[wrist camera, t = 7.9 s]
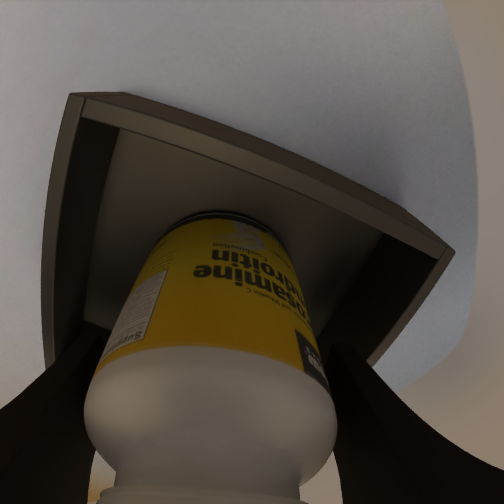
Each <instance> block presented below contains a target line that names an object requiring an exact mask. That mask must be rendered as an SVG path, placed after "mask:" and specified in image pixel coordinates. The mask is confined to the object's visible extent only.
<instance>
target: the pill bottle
mask: <svg viewBox="0 0 504 504" xmlns="http://www.w3.org/2000/svg"><path fill="white" fill-rule="evenodd" d="M84 422H85V427H86V431H87V433H88V436H89V438H90V440H91V442H92V444H93V446H94V447H95V449H96V450H97V451H98V453H99V454H100V455H101V456H102V458H103V459H104V460H105V461H106V462H107V463H108V464H109V465H110V466H111V467H112V468H113V469H114V470H115V471H116V477H115V482H114V487H111V488H107V489H104V490H103V491H102V492H101V493H100V498H101V499H99V500H98V501H97V503H96V504H308V503H306V502H304V501H300V493H299V487H300V486H301V485H303V484H304V483H306V482H307V481H309V480H310V479H311V478H312V477H313V476H315V475H316V474H317V473H318V471H319V470H320V469H321V468H322V467H323V465H324V464H325V463H326V461H327V460H328V458H329V456H330V455H331V453H332V451H333V448H334V445H335V443H336V438H337V417H336V412H335V405H334V402H333V398H332V395H331V391H330V388H329V384H328V381H327V377H326V375H325V372H324V368H323V364H322V361H321V357H320V354H319V350H318V347H317V343H316V340H315V337H314V333H313V330H312V326H311V323H310V319H309V316H308V312H307V309H306V305H305V302H304V299H303V295H302V292H301V289H300V286H299V283H298V279H297V276H296V272H295V269H294V266H293V263H292V260H291V258H290V256H289V254H288V252H287V250H286V249H285V247H284V246H283V244H282V243H281V242H280V241H279V239H278V238H277V237H276V236H275V235H274V234H273V233H272V232H271V231H269V230H268V229H267V228H265V227H264V226H262V225H261V224H259V223H257V222H255V221H253V220H251V219H248V218H245V217H243V216H239V215H234V214H228V213H207V214H201V215H197V216H194V217H191V218H188V219H186V220H184V221H181V222H180V223H178V224H176V225H175V226H173V227H172V228H170V229H169V230H168V231H167V232H166V233H165V234H164V235H162V236H161V238H160V239H159V240H158V241H157V243H156V244H155V246H154V247H153V249H152V250H151V252H150V254H149V256H148V258H147V260H146V262H145V264H144V266H143V268H142V270H141V272H140V274H139V276H138V278H137V280H136V282H135V284H134V286H133V288H132V290H131V292H130V294H129V296H128V298H127V300H126V302H125V304H124V306H123V309H122V311H121V313H120V315H119V317H118V319H117V322H116V324H115V326H114V328H113V331H112V333H111V335H110V338H109V340H108V342H107V344H106V347H105V349H104V352H103V354H102V356H101V358H100V361H99V363H98V365H97V368H96V371H95V373H94V376H93V378H92V381H91V383H90V386H89V389H88V392H87V395H86V399H85V404H84Z"/></svg>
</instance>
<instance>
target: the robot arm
mask: <svg viewBox="0 0 504 504" xmlns="http://www.w3.org/2000/svg"><path fill="white" fill-rule="evenodd" d="M104 349H105V345H104V342H103V339H102V335H101V334H93V333H86V332H85V333H84V334H83V335H81V336H80V337H79V338H78V339H77V340H76V341H75V342H74V343H73V344H72V345H71V346H70V347H69V348H68V349H67V350H66V351H65V352H64V353H63V354H62V355H61V356H60V357H59V358H58V359H57V360H56V361H55V362H54V363H53V364H52V365H51V366H50V367H49V368H48V369H47V370H45V371H44V372H43V373H42V374H41V375H40V376H39V377H38V378H37V379H36V380H35V381H34V382H32V383H31V384H30V385H29V386H28V387H27V388H26V389H25V390H24V391H23V392H21V393H20V394H19V395H18V396H17V397H16V398H14V399H13V400H12V401H11V402H9V403H8V404H7V405H5V406H4V407H3V408H2V409H0V504H87V500H88V489H89V481H90V473H91V467H92V462H93V458H94V454H95V451H96V449H95V447H94V446H93V444H92V442H91V440H90V438H89V436H88V433H87V431H86V427H85V422H84V404H85V399H86V395H87V392H88V389H89V386H90V383H91V381H92V378H93V376H94V373H95V371H96V368H97V365H98V363H99V361H100V358H101V356H102V354H103V352H104ZM324 372H325V375H326V377H327V381H328V384H329V388H330V391H331V395H332V398H333V402H334V405H335V412H336V417H337V438H336V443H335V445H334V448H333V452H334V456H335V459H336V463H337V467H338V472H339V476H340V483H341V491H342V498H343V504H504V470H501V469H499V468H497V467H494V466H492V465H490V464H488V463H486V462H484V461H482V460H480V459H478V458H476V457H474V456H473V455H471V454H469V453H468V452H466V451H464V450H463V449H461V448H459V447H458V446H457V445H455V444H454V443H452V442H450V441H449V440H448V439H446V438H445V437H443V436H442V435H441V434H439V433H438V432H437V431H436V430H434V429H433V428H432V427H431V426H429V425H428V424H427V423H426V422H425V421H423V420H422V419H421V418H420V417H419V416H418V415H417V414H415V413H414V412H413V411H412V410H411V409H410V408H409V407H408V406H407V405H406V404H405V403H404V402H403V401H402V400H401V399H400V398H399V397H398V396H397V395H396V394H395V393H394V392H393V391H392V390H391V388H390V387H389V386H388V385H387V384H386V383H385V382H384V381H383V380H382V379H381V378H380V376H379V375H378V374H377V373H376V372H375V371H374V370H373V368H372V367H371V366H370V365H369V364H368V363H367V361H366V360H365V359H364V358H363V357H362V356H361V354H360V353H359V352H358V351H357V350H356V349H355V348H354V346H353V345H352V344H351V343H350V342H346V343H332V345H331V348H330V351H329V354H328V358H327V361H326V364H325V367H324Z"/></svg>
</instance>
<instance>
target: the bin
mask: <svg viewBox="0 0 504 504" xmlns="http://www.w3.org/2000/svg"><path fill="white" fill-rule="evenodd" d="M207 213H228V214H234V215H239V216H243V217H245V218H248V219H251V220H253V221H255V222H257V223H259V224H261V225H262V226H264V227H265V228H267V229H268V230H269V231H271V232H272V233H273V234H274V235H275V236H276V237H277V238H278V239H279V241H280V242H281V243H282V244H283V246H284V247H285V249H286V250H287V252H288V254H289V256H290V258H291V260H292V263H293V266H294V269H295V272H296V276H297V279H298V283H299V286H300V289H301V292H302V295H303V299H304V302H305V305H306V309H307V312H308V316H309V319H310V323H311V326H312V330H313V333H314V337H315V340H316V343H317V347H318V350H319V354H320V357H321V361H322V364H323V368H324V367H325V364H326V361H327V358H328V354H329V351H330V348H331V345H332V343H346V342H350V343H351V344H352V345H353V346H354V348H355V349H356V350H357V351H358V352H359V353H360V354H361V356H362V357H363V358H364V359H365V360H366V361H367V363H368V364H369V365H370V366H371V367H373V366H374V365H375V363H376V362H377V361H378V360H379V359H380V357H381V356H382V355H383V354H384V353H385V351H386V350H387V349H388V348H389V347H390V345H391V344H392V343H393V342H394V340H395V339H396V338H397V337H398V335H399V334H400V333H401V331H402V330H403V329H404V328H405V326H406V325H407V324H408V322H409V321H410V320H411V318H412V317H413V316H414V314H415V313H416V312H417V310H418V309H419V307H420V306H421V305H422V303H423V302H424V300H425V299H426V297H427V296H428V295H429V293H430V292H431V290H432V289H433V287H434V286H435V284H436V283H437V281H438V280H439V278H440V277H441V275H442V274H443V272H444V271H445V269H446V267H447V266H448V264H449V263H450V261H451V259H452V258H453V256H454V255H455V250H454V249H453V248H451V247H450V246H449V245H448V244H447V243H446V242H444V241H443V240H442V239H441V238H440V237H439V236H437V235H436V234H435V233H434V232H433V231H431V230H430V229H429V228H428V227H427V226H425V225H424V224H423V223H422V222H420V221H419V220H418V219H417V218H415V217H414V216H413V215H412V214H410V213H409V212H408V211H407V210H405V209H404V208H403V207H401V206H399V205H397V204H396V203H394V202H392V201H390V200H388V199H387V198H385V197H383V196H381V195H379V194H377V193H375V192H373V191H372V190H370V189H368V188H366V187H364V186H362V185H360V184H358V183H356V182H354V181H352V180H350V179H348V178H346V177H344V176H342V175H340V174H338V173H336V172H334V171H332V170H330V169H328V168H326V167H323V166H321V165H319V164H317V163H315V162H313V161H311V160H308V159H306V158H304V157H302V156H300V155H297V154H295V153H293V152H291V151H288V150H286V149H284V148H281V147H279V146H277V145H274V144H272V143H270V142H267V141H265V140H262V139H260V138H257V137H255V136H252V135H250V134H247V133H245V132H242V131H240V130H237V129H235V128H232V127H229V126H227V125H224V124H221V123H219V122H216V121H213V120H210V119H208V118H205V117H202V116H199V115H196V114H193V113H190V112H187V111H184V110H181V109H178V108H175V107H172V106H169V105H166V104H163V103H159V102H156V101H153V100H150V99H146V98H143V97H139V96H136V95H132V94H129V93H125V92H76V93H70V94H69V96H68V99H67V103H66V106H65V110H64V114H63V118H62V121H61V125H60V130H59V134H58V138H57V143H56V148H55V152H54V157H53V163H52V168H51V174H50V180H49V187H48V194H47V201H46V209H45V219H44V229H43V242H42V260H41V317H42V336H43V348H44V359H45V368H46V370H47V369H48V368H49V367H50V366H51V365H52V364H53V363H54V362H55V361H56V360H57V359H58V358H59V357H60V356H61V355H62V354H63V353H64V352H65V351H66V350H67V349H68V348H69V347H70V346H71V345H72V344H73V343H74V342H75V341H76V340H77V339H78V338H79V337H80V336H81V335H83V334H84V333H85V332H86V333H93V334H101V335H102V339H103V342H104V345H105V347H106V344H107V342H108V340H109V338H110V335H111V333H112V331H113V328H114V326H115V324H116V322H117V319H118V317H119V315H120V313H121V311H122V309H123V306H124V304H125V302H126V300H127V298H128V296H129V294H130V292H131V290H132V288H133V286H134V284H135V282H136V280H137V278H138V276H139V274H140V272H141V270H142V268H143V266H144V264H145V262H146V260H147V258H148V256H149V254H150V252H151V250H152V249H153V247H154V246H155V244H156V243H157V241H158V240H159V239H160V238H161V236H162V235H164V234H165V233H166V232H167V231H168V230H169V229H170V228H172V227H173V226H175V225H176V224H178V223H180V222H181V221H184V220H186V219H188V218H191V217H194V216H197V215H201V214H207Z"/></svg>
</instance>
